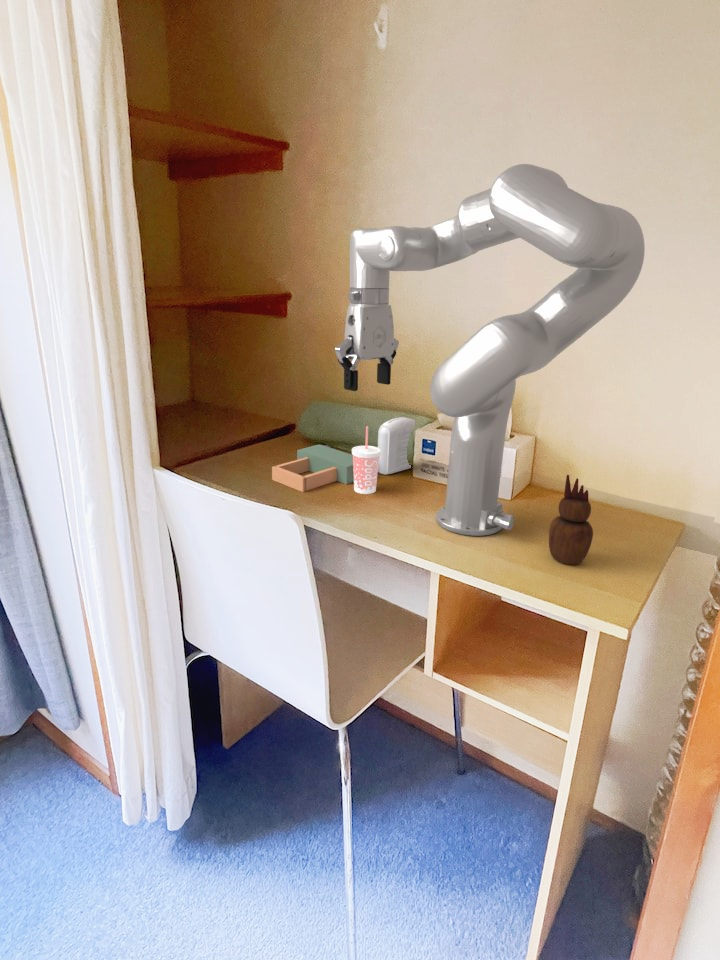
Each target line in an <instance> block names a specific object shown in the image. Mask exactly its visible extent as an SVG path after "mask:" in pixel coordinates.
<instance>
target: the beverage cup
mask: <svg viewBox="0 0 720 960" xmlns="http://www.w3.org/2000/svg"><path fill="white" fill-rule="evenodd" d="M380 454H381V449H380V448H378V446H373V445H369V426H368V425H366V426H365V445H355V446H353V447H352V448H351V455H353V472H354V482H353V491H354V492H355V493H357V494H361V495H372V494H373V493H375V492H376V490H377V483H378V482H377V481H378V473H379V472H378V464H379V456H380Z"/></svg>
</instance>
